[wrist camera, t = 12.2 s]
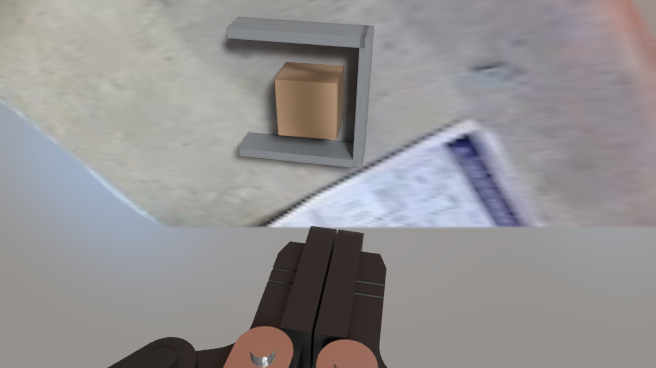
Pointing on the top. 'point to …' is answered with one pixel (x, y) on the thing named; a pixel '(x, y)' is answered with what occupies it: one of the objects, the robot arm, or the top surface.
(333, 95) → the tile block
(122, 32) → the top surface
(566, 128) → the top surface
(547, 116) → the top surface
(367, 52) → the bin
